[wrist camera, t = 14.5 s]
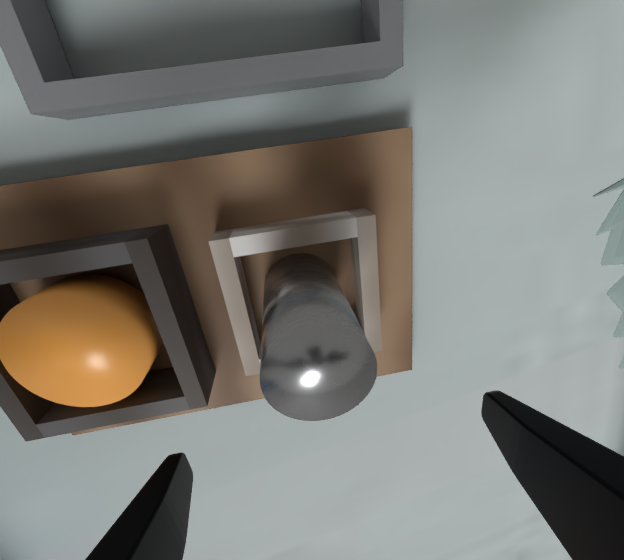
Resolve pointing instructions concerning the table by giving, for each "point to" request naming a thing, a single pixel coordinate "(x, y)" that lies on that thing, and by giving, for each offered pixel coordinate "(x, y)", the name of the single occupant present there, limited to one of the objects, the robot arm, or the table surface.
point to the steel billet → (311, 342)
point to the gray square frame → (186, 67)
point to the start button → (81, 341)
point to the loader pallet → (214, 261)
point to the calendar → (615, 251)
